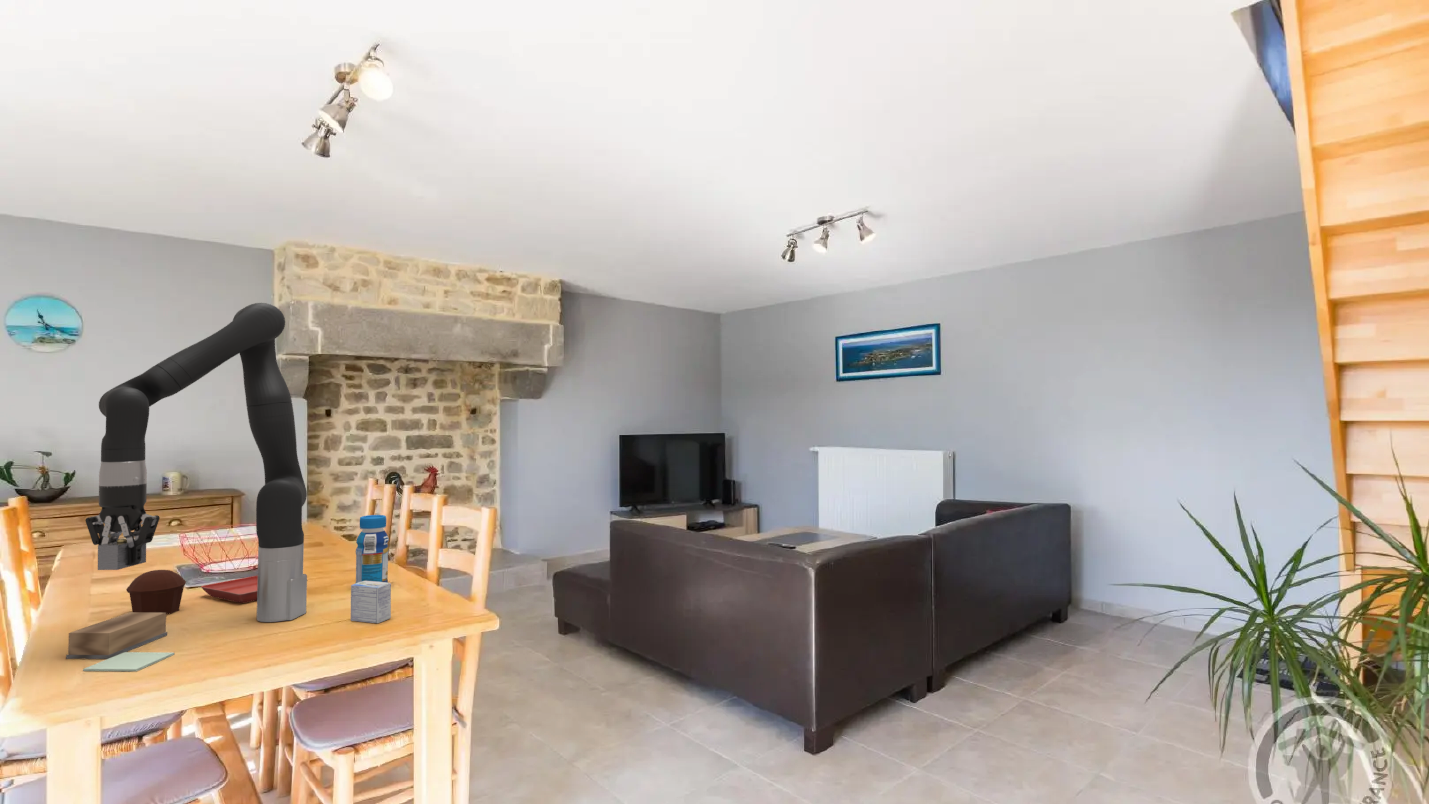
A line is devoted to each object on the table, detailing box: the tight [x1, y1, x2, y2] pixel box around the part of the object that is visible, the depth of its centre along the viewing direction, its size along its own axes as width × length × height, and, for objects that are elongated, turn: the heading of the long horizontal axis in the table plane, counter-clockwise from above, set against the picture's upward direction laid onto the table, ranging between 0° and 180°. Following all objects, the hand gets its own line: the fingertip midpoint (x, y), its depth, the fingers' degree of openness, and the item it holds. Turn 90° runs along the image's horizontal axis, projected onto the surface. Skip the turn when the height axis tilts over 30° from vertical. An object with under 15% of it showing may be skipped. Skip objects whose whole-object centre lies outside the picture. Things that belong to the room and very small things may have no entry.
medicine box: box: [350, 581, 392, 624], centre depth 160 cm, size 8×4×9 cm, turn 74°
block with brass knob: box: [97, 537, 147, 571], centre depth 141 cm, size 4×7×6 cm, turn 1°
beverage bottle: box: [355, 514, 390, 583], centre depth 190 cm, size 8×8×20 cm
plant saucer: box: [200, 574, 309, 604], centre depth 182 cm, size 18×18×3 cm
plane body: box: [65, 611, 168, 660], centre depth 140 cm, size 8×14×5 cm, turn 0°
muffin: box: [125, 569, 187, 616], centre depth 164 cm, size 12×11×10 cm
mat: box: [82, 651, 175, 672], centre depth 131 cm, size 10×9×1 cm
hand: (122, 564), depth 141 cm, fingers closed on block with brass knob, 4 cm apart
